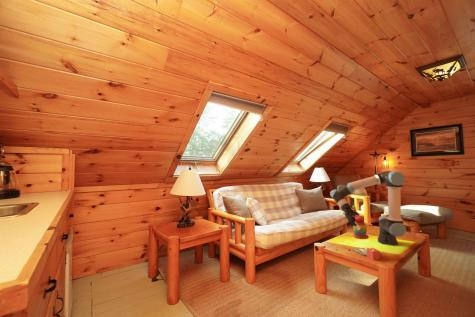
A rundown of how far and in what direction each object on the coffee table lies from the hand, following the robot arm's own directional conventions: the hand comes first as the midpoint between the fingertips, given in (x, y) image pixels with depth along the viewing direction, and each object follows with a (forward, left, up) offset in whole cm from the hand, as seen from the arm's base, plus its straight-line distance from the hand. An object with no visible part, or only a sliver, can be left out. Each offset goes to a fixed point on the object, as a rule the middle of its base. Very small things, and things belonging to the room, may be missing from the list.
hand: (363, 228), depth 175 cm
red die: (-1, +8, -20) cm, 21 cm away
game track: (-4, -3, -20) cm, 20 cm away
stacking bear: (+1, -3, -8) cm, 9 cm away
